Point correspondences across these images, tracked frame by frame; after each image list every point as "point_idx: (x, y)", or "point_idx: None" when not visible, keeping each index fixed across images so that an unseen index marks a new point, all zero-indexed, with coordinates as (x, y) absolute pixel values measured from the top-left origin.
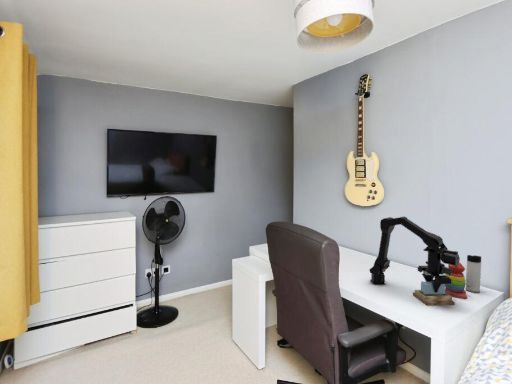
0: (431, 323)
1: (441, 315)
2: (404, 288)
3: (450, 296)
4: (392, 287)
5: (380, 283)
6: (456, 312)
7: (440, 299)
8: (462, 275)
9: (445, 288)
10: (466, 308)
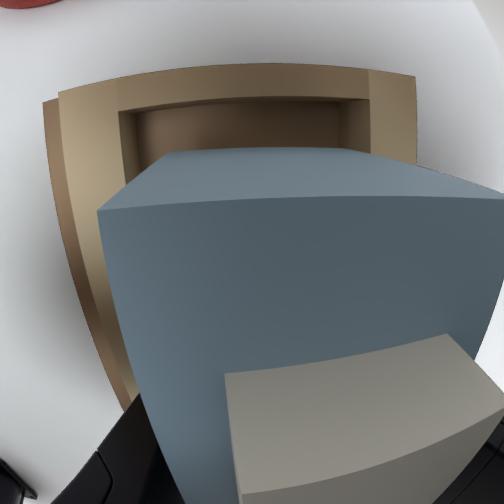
0: (501, 387)
1: (491, 324)
2: (5, 398)
3: (411, 103)
4: (28, 452)
5: (15, 481)
6: (500, 191)
7: None
8: None
9: None
10: (456, 34)
